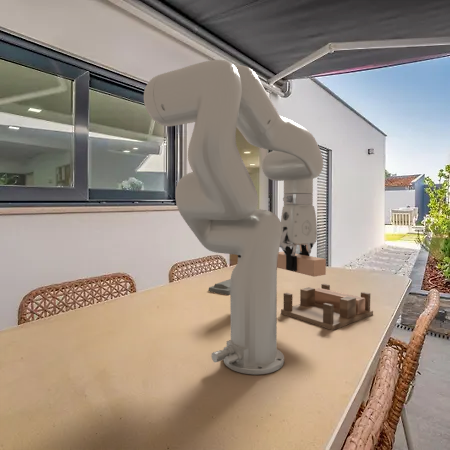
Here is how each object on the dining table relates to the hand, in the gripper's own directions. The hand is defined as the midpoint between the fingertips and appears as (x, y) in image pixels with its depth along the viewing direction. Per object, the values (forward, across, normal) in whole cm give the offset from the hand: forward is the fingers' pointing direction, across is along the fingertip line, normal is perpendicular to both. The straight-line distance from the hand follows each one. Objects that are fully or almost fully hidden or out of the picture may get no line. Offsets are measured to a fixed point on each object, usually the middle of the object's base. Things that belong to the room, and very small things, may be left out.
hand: (297, 268), depth 92 cm
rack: (+16, +14, +1) cm, 21 cm away
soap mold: (+17, +13, +44) cm, 48 cm away
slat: (+1, 0, 0) cm, 1 cm away
